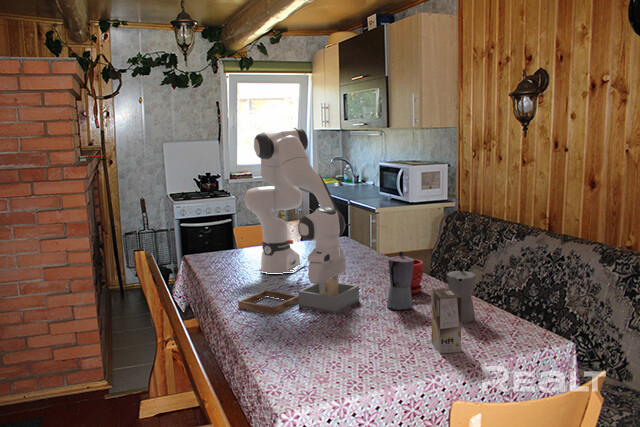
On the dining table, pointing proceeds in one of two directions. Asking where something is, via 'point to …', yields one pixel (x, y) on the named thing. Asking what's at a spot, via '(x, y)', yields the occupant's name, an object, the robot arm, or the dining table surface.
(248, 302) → the frame
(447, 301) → the coffee box
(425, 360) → the dining table surface
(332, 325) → the dining table surface
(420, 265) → the plant pot
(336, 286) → the tan block
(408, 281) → the moka pot
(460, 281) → the coffeepot
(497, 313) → the dining table surface
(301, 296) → the bin
